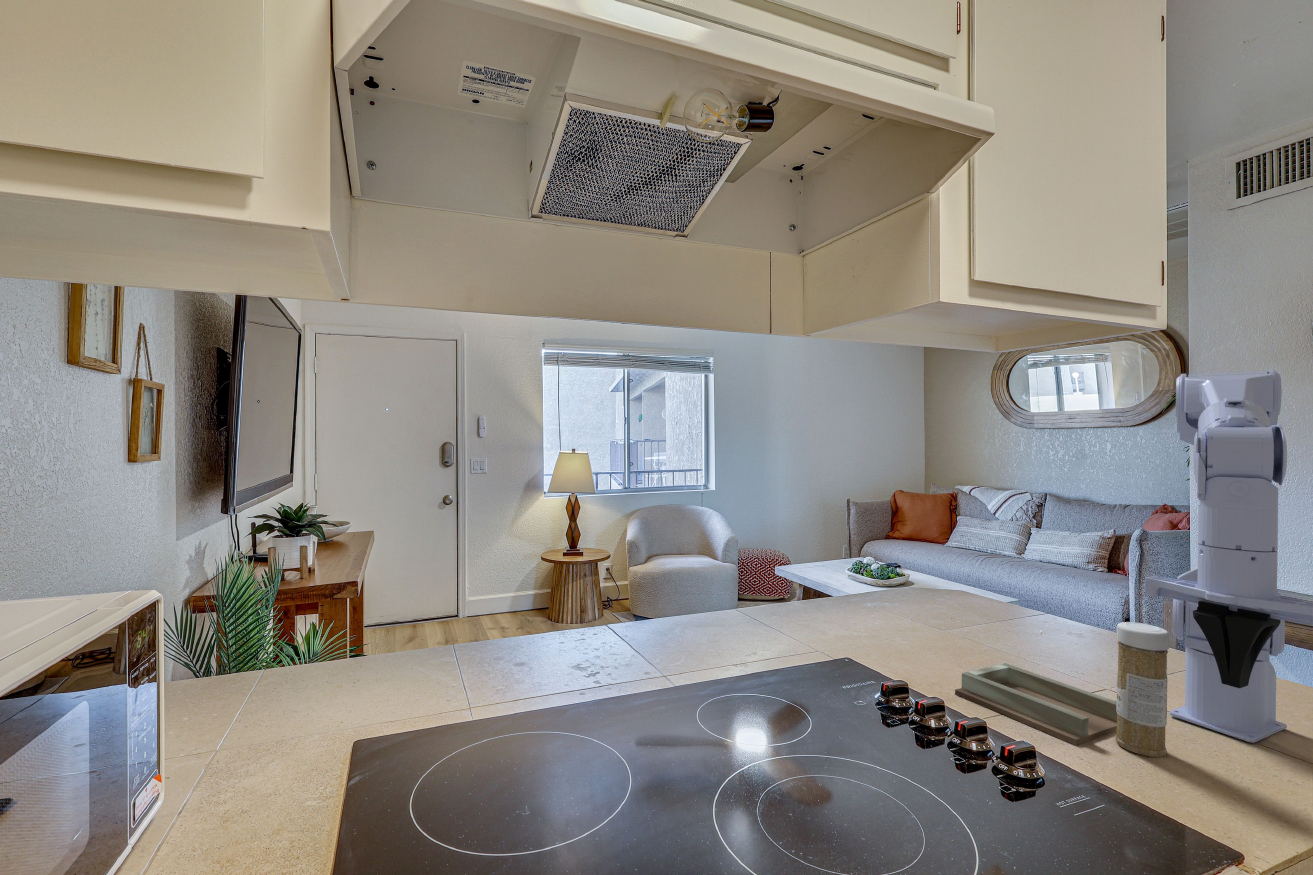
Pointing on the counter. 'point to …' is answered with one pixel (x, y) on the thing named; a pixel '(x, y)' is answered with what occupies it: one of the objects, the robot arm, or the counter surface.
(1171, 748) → the counter surface
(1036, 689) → the bottle rest
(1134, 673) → the sprinkles bottle
